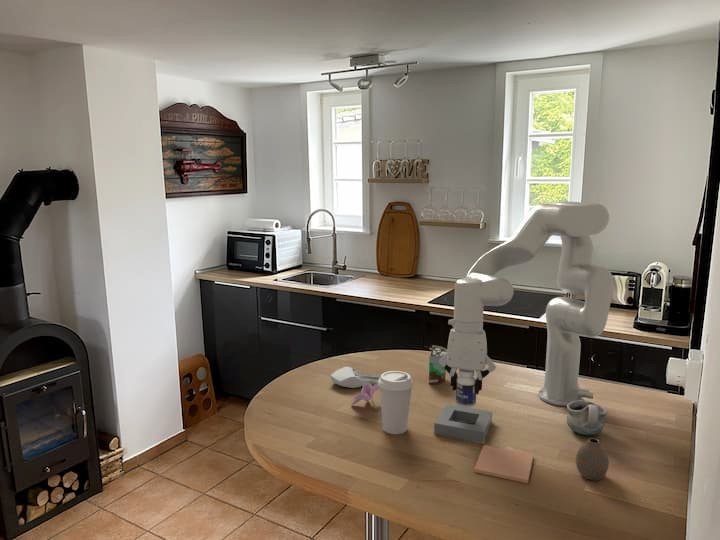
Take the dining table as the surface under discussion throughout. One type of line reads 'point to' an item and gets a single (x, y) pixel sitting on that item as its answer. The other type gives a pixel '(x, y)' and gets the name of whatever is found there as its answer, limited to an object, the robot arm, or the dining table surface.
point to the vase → (592, 460)
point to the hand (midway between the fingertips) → (466, 389)
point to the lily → (366, 393)
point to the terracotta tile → (504, 463)
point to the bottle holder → (462, 430)
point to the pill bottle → (465, 388)
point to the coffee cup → (395, 400)
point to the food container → (436, 365)
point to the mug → (585, 417)
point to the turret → (353, 378)
